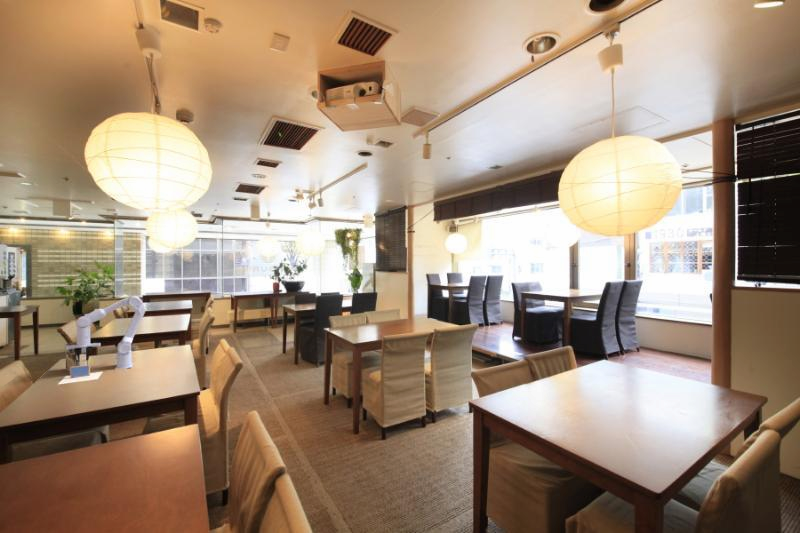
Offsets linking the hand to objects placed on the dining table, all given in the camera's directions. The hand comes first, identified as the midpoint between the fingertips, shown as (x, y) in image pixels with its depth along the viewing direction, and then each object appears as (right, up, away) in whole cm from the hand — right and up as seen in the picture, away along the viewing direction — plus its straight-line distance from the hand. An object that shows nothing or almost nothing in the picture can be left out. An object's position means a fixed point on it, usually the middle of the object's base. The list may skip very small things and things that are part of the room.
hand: (83, 360), depth 195 cm
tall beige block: (0, -4, 0) cm, 4 cm away
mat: (+6, -8, -8) cm, 13 cm away
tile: (+4, -7, -6) cm, 10 cm away
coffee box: (-10, -8, +6) cm, 14 cm away
